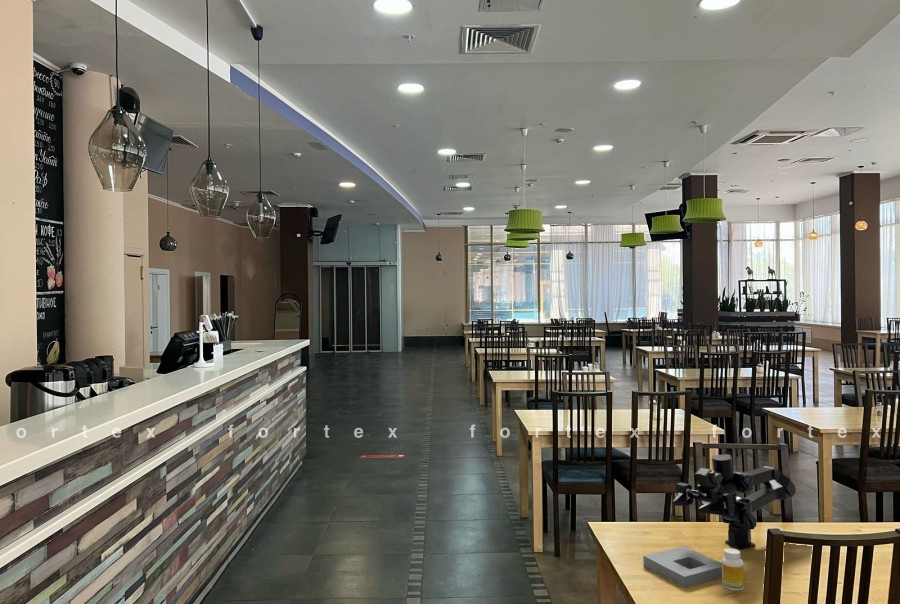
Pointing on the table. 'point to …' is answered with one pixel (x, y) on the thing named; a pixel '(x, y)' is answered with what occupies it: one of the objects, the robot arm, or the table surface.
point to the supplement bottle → (732, 570)
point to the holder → (684, 566)
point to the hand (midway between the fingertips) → (685, 507)
